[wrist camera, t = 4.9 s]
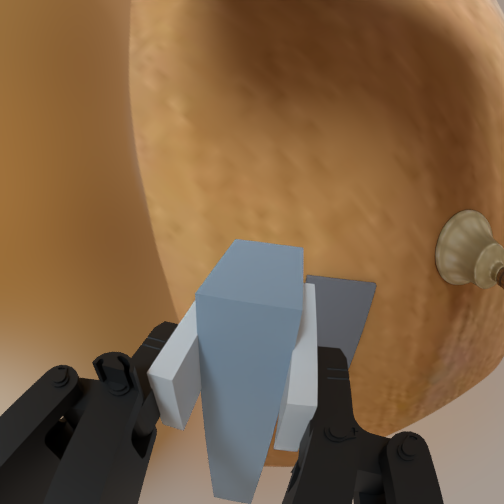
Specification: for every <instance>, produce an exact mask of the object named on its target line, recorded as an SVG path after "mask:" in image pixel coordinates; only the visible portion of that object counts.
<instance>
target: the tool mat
mask: <svg viewBox="0 0 504 504" xmlns="http://www.w3.org/2000/svg"><path fill="white" fill-rule="evenodd" d="M306 283H310V284H315V300H316V323H317V346H322V347H332V348H340V349H341V350H342V352H343V353H344V355H345V356H346V358H347V364H348V369H349V367H350V364H351V361H352V359H353V356H354V354H355V351H356V348H357V345H358V343H359V340H360V337H361V334H362V331H363V328H364V325H365V322H366V319H367V316H368V313H369V309H370V306H371V303H372V299H373V296H374V293H375V289H376V284H375V283H372V282H363V281H354V280H346V279H337V278H329V277H320V276H312V275H307V278H306Z"/></svg>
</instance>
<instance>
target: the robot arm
mask: <svg viewBox="0 0 504 504" xmlns="http://www.w3.org/2000/svg"><path fill="white" fill-rule="evenodd" d="M92 363H93V365H94V368H95V370H96V373H97V375H98V378H99V380H94V379H85V378H79V376H78V374H77V372H76V371H75V370H74V369H73V368H72V367H70V366H67V365H59V366H56V367H53V368H51V369H50V370H49V371H47V372H46V373H45V374H44V375H43V376H42V377H41V378H40V379H39V380H38V381H37V382H36V383H34V385H32V386H31V387H30V388H29V389H28V390H27V391H26V392H25V393H24V394H23V395H22V396H21V397H20V398H19V399H17V400H16V401H15V402H14V404H12V405H11V406H10V407H9V408H8V409H7V410H6V411H5V412H4V413H3V414H2V415H1V416H0V504H138V501H139V497H140V492H141V489H142V485H143V481H144V477H145V474H146V470H147V467H148V463H149V460H150V456H151V452H152V449H153V445H154V442H155V439H156V435H157V429H156V427H155V424H156V423H157V421H158V419H159V417H160V418H161V421H162V423H163V424H164V425H167V426H170V427H174V428H177V429H180V430H184V429H185V426H186V424H187V422H188V419H189V417H190V415H191V412H192V410H193V408H194V405H195V403H196V401H197V398H198V396H199V394H200V391H201V389H202V386H201V374H200V361H199V347H198V334H197V324H196V300H195V301H194V303H193V304H192V306H191V307H190V309H189V310H188V311H187V313H186V314H185V316H184V317H183V319H182V320H181V322H180V323H179V324H175V323H170V322H166V321H165V322H163V323H161V324H160V325H158V326H156V327H155V328H154V329H153V330H152V331H151V333H150V334H149V335H148V338H146V339H145V341H144V342H143V344H142V345H141V346H140V347H139V349H138V350H137V351H136V353H135V354H134V355H133V356H132V358H130V357H129V356H128V355H126V354H124V353H121V352H109V353H104V354H102V355H100V356H98V357H97V358H96V359H95V360H94V361H93V362H92ZM62 416H63V418H62V419H60V418H61V417H62ZM274 449H276V450H285V451H295V452H297V451H298V449H299V457H298V460H297V462H296V464H295V466H294V468H293V470H292V471H291V473H292V476H291V479H290V482H289V485H288V488H287V491H286V494H285V497H284V499H283V502H282V504H352V500H353V499H354V504H444V503H443V499H442V495H441V491H440V487H439V483H438V479H437V475H436V472H435V469H434V465H433V462H432V458H431V455H430V452H429V449H428V446H427V444H426V442H425V440H424V439H423V438H422V437H421V436H420V435H418V434H416V433H413V432H401V433H398V434H395V435H394V436H393V437H392V438H386V437H382V436H378V435H375V434H372V433H369V432H367V431H365V430H364V429H362V428H361V427H360V426H359V425H358V423H357V422H356V421H355V419H354V415H353V408H352V398H351V388H350V380H349V371H348V364H347V358H346V356H345V355H344V353H343V352H342V350H341V349H340V348H332V347H322V346H317V323H316V300H315V284H310V283H303V310H302V315H301V320H300V325H299V330H298V335H297V339H296V344H295V348H294V350H293V351H292V355H291V360H290V365H289V369H288V374H287V378H286V382H285V387H284V391H283V395H282V399H281V404H280V411H279V418H278V424H277V431H276V437H275V443H274Z"/></svg>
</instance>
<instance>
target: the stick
mask: <svg viewBox="0 0 504 504" xmlns="http://www.w3.org/2000/svg"><path fill="white" fill-rule="evenodd" d="M195 297H196V324H197V334H198V347H199V361H200V374H201V386H202V389H201V398H202V408H203V418H204V428H205V437H206V445H207V452H208V460H209V467H210V474H211V481H212V487H213V493H214V497H217V498H222V499H227V500H231V501H236V502H242V503H248V504H251V502H252V499H253V495H254V493H255V490H256V487H257V484H258V481H259V478H260V475H261V472H262V468H263V465H264V462H265V459H266V456H267V452H268V449H269V446H270V442H271V439H272V435H273V432H274V428H275V425H276V421H277V417H278V414H279V410H280V404H281V399H282V395H283V391H284V387H285V382H286V378H287V374H288V369H289V365H290V360H291V355H292V351H293V350H294V348H295V344H296V339H297V335H298V330H299V325H300V320H301V315H302V310H303V248H301V247H293V246H286V245H278V244H270V243H263V242H255V241H247V240H239V239H235V240H234V242H233V243H232V244H231V246H230V247H229V248H228V250H227V251H226V253H225V254H224V255H223V257H222V258H221V259H220V261H219V262H218V263H217V265H216V266H215V267H214V269H213V270H212V271H211V273H210V274H209V276H208V277H207V278H206V280H205V281H204V282H203V284H202V285H201V286H200V288H199V289H198V291H197V292H196V293H195Z"/></svg>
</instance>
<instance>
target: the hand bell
mask: <svg viewBox="0 0 504 504" xmlns="http://www.w3.org/2000/svg"><path fill="white" fill-rule="evenodd" d="M435 254H436V255H435V257H436V265H437V269H438V271H439V273H440V275H441V277H442V278H443V279H444V280H445V281H447V282H448V283H450V284H454V285H463V284H467V283H469V282H472V283H473V284H475V285H477V286H478V287H480V288H483V289H488V288H491V287H493V286H494V285H495V284H496V283H497V284H498V285H499V286H501V287H502V288H503V289H504V249H503V247H502V246H501V245H500V244H499V243H497V242H496V241H495V240H494V239H493V235H492V230H491V227H490V225H489V223H488V221H487V219H486V218H485V217H484V216H483V215H482V214H481V213H479V212H477V211H475V210H464V211H461V212H459V213H457V214H456V215H454V216H453V217H452V218H451V219H450V220H449V221H448V222H447V223H446V224H445V226H444V228H443V229H442V231H441V233H440V236H439V238H438V242H437V247H436V253H435Z"/></svg>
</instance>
